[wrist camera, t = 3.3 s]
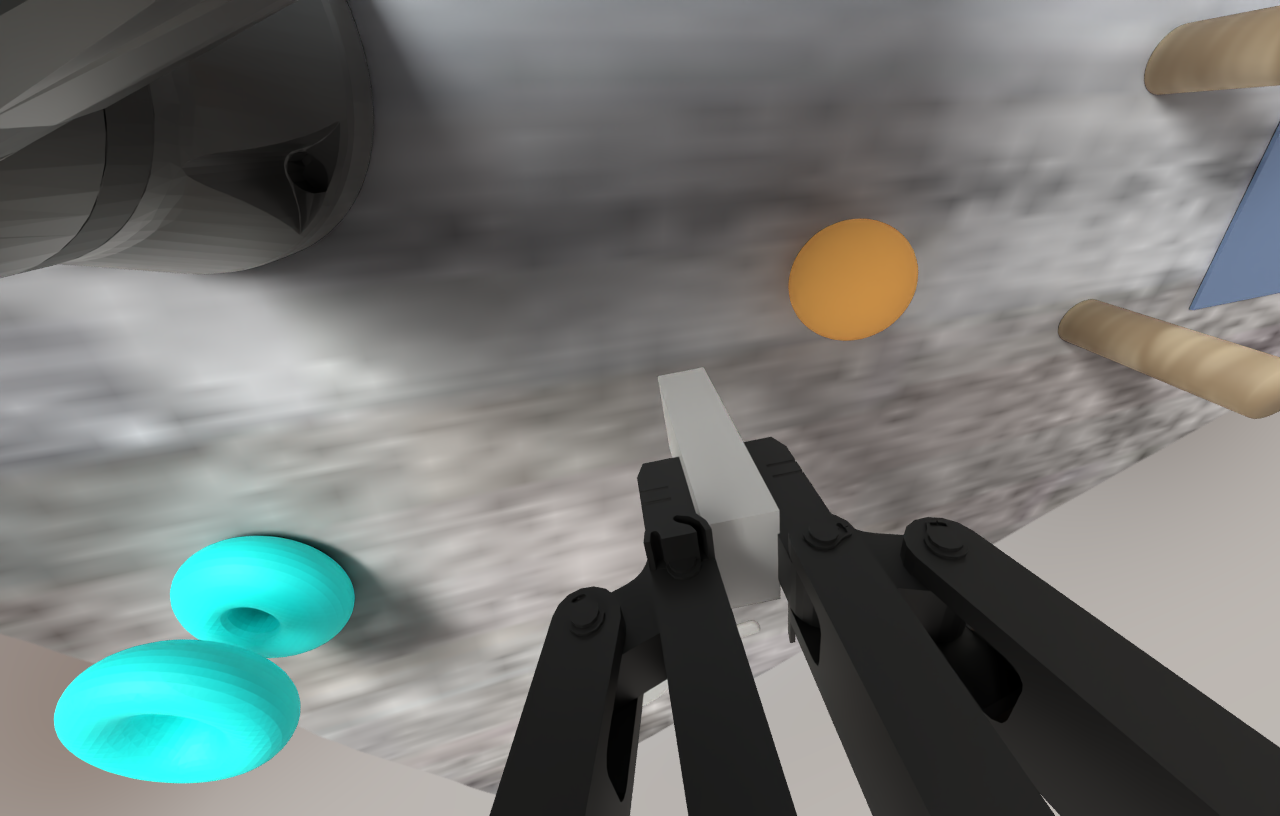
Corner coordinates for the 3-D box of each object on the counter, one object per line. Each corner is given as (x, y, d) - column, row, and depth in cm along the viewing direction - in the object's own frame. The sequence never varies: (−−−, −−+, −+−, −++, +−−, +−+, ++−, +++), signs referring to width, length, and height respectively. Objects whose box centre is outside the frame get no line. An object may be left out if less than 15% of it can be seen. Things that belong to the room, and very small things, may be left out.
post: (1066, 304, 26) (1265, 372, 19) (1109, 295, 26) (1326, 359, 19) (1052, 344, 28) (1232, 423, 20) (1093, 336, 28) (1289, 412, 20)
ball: (771, 222, 22) (821, 244, 18) (880, 200, 22) (959, 217, 18) (772, 326, 25) (816, 370, 20) (869, 307, 25) (935, 346, 20)
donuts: (315, 727, 23) (237, 806, 26) (388, 566, 31) (323, 640, 34) (66, 667, 19) (9, 769, 22) (228, 501, 27) (171, 591, 30)
